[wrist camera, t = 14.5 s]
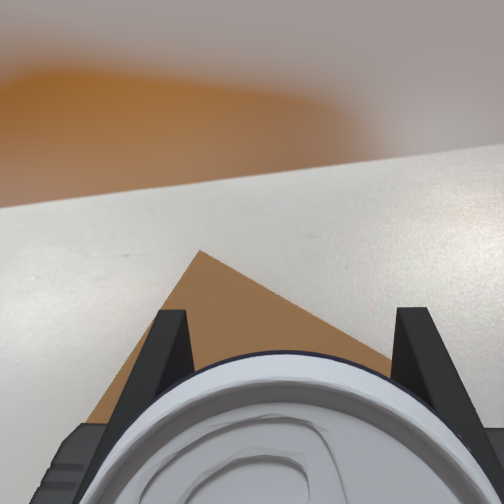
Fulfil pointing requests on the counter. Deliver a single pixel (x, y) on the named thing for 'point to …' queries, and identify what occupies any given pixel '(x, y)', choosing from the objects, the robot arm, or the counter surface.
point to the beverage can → (289, 440)
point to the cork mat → (241, 326)
